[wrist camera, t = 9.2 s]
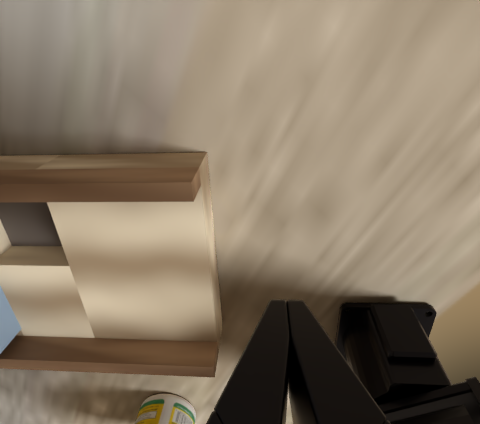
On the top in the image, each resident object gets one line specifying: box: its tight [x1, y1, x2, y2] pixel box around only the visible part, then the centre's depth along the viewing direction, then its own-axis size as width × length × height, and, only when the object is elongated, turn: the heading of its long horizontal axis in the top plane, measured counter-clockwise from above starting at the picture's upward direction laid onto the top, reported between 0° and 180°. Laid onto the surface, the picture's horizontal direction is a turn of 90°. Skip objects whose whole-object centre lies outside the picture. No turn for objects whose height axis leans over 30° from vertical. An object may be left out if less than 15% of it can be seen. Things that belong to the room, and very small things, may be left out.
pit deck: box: [0, 152, 223, 377], centre depth 21 cm, size 14×20×4 cm
